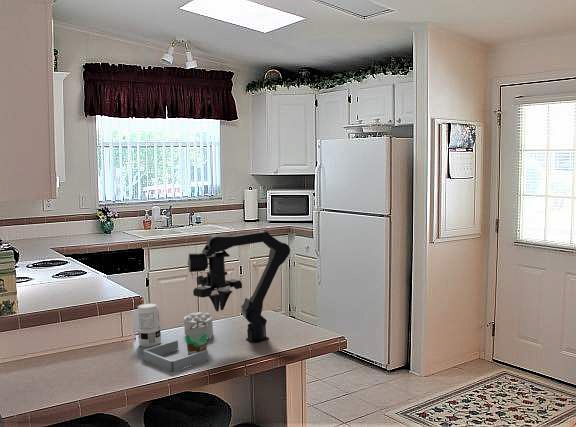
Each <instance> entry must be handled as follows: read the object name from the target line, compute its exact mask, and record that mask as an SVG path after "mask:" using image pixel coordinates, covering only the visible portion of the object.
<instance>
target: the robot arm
mask: <svg viewBox="0 0 576 427" xmlns="http://www.w3.org/2000/svg"><path fill="white" fill-rule="evenodd" d="M257 243H263V244H264V245H266V246H267V247H268V248H269V249H270V250H269V252H268V261H267V264H266V266H265V267H264V270H263V272H262V274H261V276H260V278H259V280H258V281H259V282H258V284H257V285H256V288H254V291H253V294H252V295H251V296H250V297H249V298H247V297H245V299H244V302H243V304H242V305H241V306H240V307H241V308H242V309H241V314H242V316H243V317H244V319H246V321H247V323H249V324H247V332H246V333H247V337H246V338H245V340H246V341H249V342H253V343H260V342H262V341H263V342H264V341H266V340H269V339H270V336H269V337H268V336H267V330H266V328H267V327H266V325H267V321H268V320H267V319H266V318H265V317H264V316H263V315H262V312H263V305H264V300H265V298H266V296H267V295H268V294H267V293H268V291H269V290H270V287H271V285H272V283H273V281H274V278H275V276H276V274H277V272H278V269H279V268H280V267H281V265H282V264H283V263H285V262H286V260H287V258H288V256H290V254H291V249H290V245H289V244H287V243H285V242H282V241H280V240H278V239H276V238H275V237H274V236H272V235H271V234H270V233H269V232H268V231H265V230H259V231H254V232H246V233H240V234H234V235H233V234H231V235H224V234H211V235H210V236H208V238H207V240H206V245H205V246H204V247H203V249H202V251H201V252H196V253H191V252H189V253H188V258H187V260H188V261H187V269H188V273H196V272H206V270H207V269H208V270H209V271H208V272H207V273H206V276H204V275H198V276H196V284H197V285H198V286H197V287H194V289H193V291H192V293H193V294H192V295H193V296H194V297H199V298H206V297H208V298H209V299H210V301H211V302H212V305H213V308H214V309H215V312H219V310H220V311H223V310H224V309H225V307H226V304H227V302H228V300H229V298H230V296H231V294H232V293H233V290H231V288H234V289H235V290H239V289H242V288H243V283H242V281H241V280H239V279H235V278H231V279H228V280H226V276H227V275H228V271H226V266H225V258H227V257H228V258H229V257H230V256H231V255H230V254H229V253H228V252H227V251H226V250H228V249H231V248H233V247H239V246H245V245H250V244H257ZM200 285H201V286H200Z"/></svg>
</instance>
